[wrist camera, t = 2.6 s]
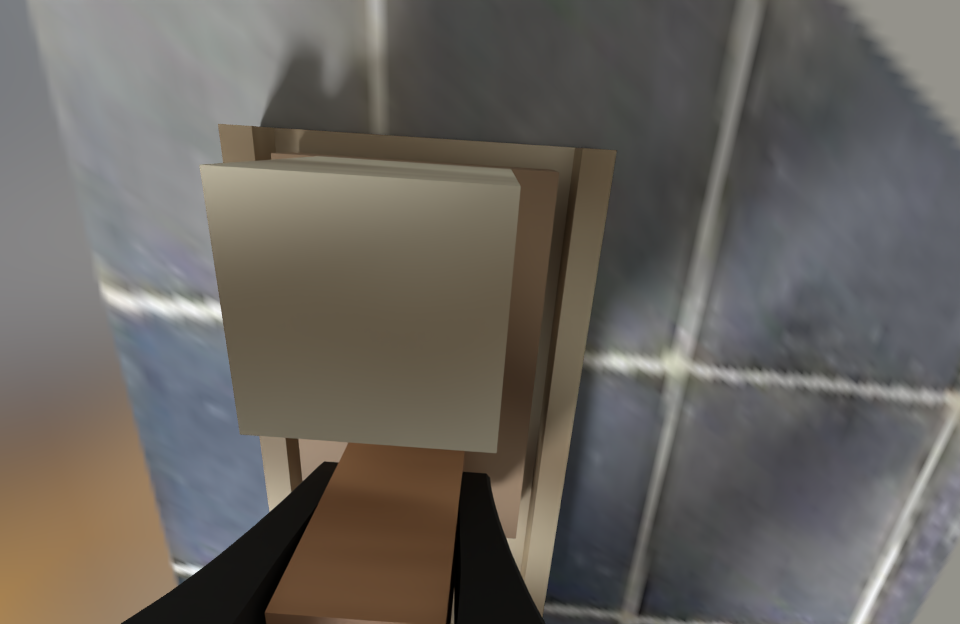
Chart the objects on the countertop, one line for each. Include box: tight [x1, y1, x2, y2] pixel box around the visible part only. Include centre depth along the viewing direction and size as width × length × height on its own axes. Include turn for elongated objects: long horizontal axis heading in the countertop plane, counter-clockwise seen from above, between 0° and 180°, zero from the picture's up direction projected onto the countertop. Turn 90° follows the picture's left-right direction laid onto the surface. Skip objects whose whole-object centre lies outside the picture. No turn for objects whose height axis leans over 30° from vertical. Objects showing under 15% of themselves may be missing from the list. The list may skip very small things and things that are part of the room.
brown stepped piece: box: [265, 152, 559, 624], centre depth 9 cm, size 10×6×6 cm, turn 177°
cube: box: [200, 156, 521, 453], centre depth 8 cm, size 4×4×4 cm
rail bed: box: [218, 124, 617, 624], centre depth 13 cm, size 17×8×2 cm, turn 177°
